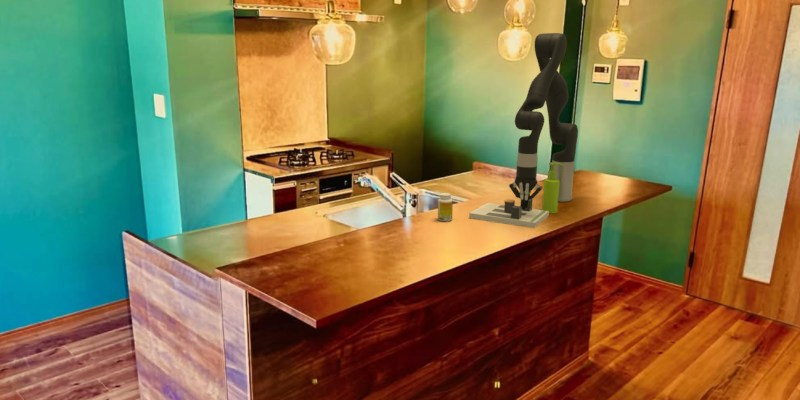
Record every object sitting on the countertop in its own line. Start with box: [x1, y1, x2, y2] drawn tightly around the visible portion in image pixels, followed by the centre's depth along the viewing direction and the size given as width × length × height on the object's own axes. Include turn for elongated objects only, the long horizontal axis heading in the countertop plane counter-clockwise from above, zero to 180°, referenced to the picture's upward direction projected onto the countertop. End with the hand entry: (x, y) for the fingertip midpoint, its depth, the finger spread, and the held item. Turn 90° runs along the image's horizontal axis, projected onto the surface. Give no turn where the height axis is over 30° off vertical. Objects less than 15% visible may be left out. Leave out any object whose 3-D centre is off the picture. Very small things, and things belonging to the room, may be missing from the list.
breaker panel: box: [468, 202, 550, 229], centre depth 219 cm, size 18×26×2 cm
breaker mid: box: [504, 198, 516, 213], centre depth 218 cm, size 3×3×4 cm
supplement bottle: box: [437, 192, 453, 223], centre depth 214 cm, size 6×6×10 cm
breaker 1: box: [511, 205, 522, 219], centre depth 210 cm, size 3×3×4 cm
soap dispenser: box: [541, 162, 563, 214], centre depth 224 cm, size 6×7×20 cm
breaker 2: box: [522, 198, 534, 211], centre depth 221 cm, size 3×3×4 cm
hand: (524, 209), depth 215 cm, fingers closed
